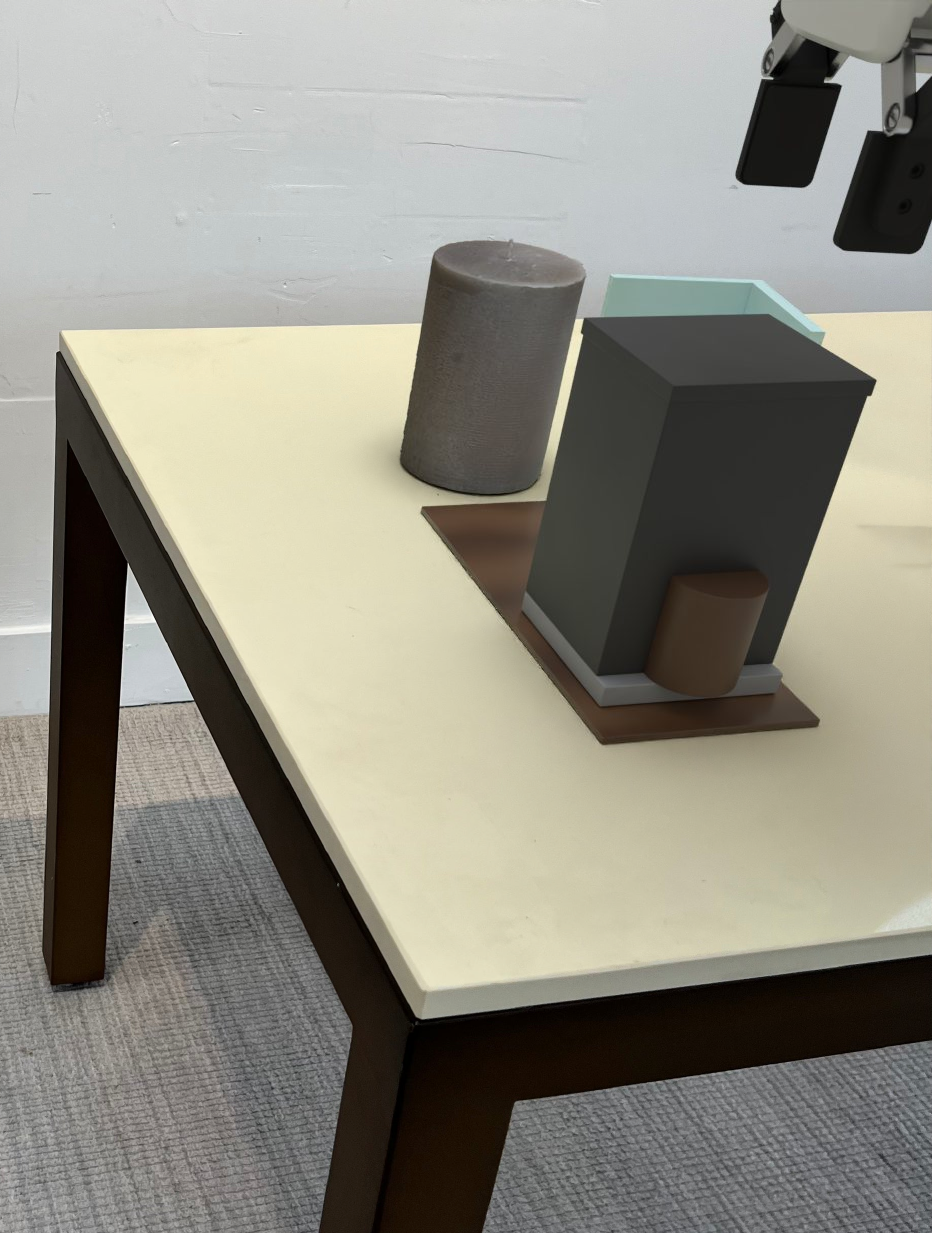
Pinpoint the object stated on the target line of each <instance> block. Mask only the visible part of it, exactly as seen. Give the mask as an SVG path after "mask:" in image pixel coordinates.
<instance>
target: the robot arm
mask: <svg viewBox="0 0 932 1233" xmlns="http://www.w3.org/2000/svg"><path fill="white" fill-rule="evenodd" d="M769 24H770V28H771V31H770V32H771V42H770V43H769V45H768V46H767V47H766V50H765V51H764V53H763V56H762V59H761V60H762V61H761V65H760V74H761V76H762V77H763V78H761V79H760V84H759V87H758V91H757V94H756V97H755V101H754V104H753V108H752V111H751V115H750V119H749V122H748V126H747V130H746V133H745V136H744V141H743V143H742V148H741V151H740V155H739V158H738V162H737V165H736V169H735V174H734V177H735V179H736V181H738V182H739V183H740V184H742V185H745V186H755V187H756V186H757V187H775V188H793V189H805V188H807V187H808V186H810V185H811V183H812V182H813V181H814V178H815V174H816V172H817V169H818V165H819V162H820V159H821V155H822V152H823V149H824V146H825V143H826V139H827V137H828V133H829V130H830V126H831V123H832V120H833V116H834V114H835V110H836V107H837V104H838V100H839V97H840V95H841V91H842V87H843V85H842V84H840V83H837V82H830V81H832V80H833V79H834V77H835V76H837V73H838V72H839V71H840V69H841V68H842V67H843V65H844V64H845V63H846V62H847V60H848V59H849V57H852V58H854V59H857V60H860V61H864V62H867V63H869V64H875V65H876V64H877V65H878V64H879V65H880V82H881V83H880V84H881V85H880V86H881V128H882V130H872V129H871V130H870V129H869V130H867V131H866V134H865V138H864V140H863V143H862V146H861V149H860V152H859V156H858V158H857V161H856V165H855V167H854V171H853V174H852V177H851V181H850V183H849V186H848V189H847V192H846V196H845V199H844V201H843V205H842V207H841V211H840V214H839V217H838V220H837V223H836V225H835V226H836V227H835V228H834V232H833V236H832V242H833V244H834V246H836V247H837V248H838V249H840V250H842V251H844V252H854V253H855V252H856V253H877V254H893V255H894V254H896V255H897V254H898V255H913V254H915V253H918V252H919V251H921V249H922V247H923V246H924V245H925V244H924V243H925V241H926V238H927V236H928V233H929V230H930V227H931V225H932V0H777V2H776V4H775V6H774V7H773V8H772V13H771V14H770V15H769ZM917 74H926V75H927V74H929V75H930V77H928V79H927V80H926V81H925V82H924V83H923V84H922V86H920V88H919V89H918V90H917Z"/></svg>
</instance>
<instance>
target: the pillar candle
mask: <svg viewBox="0 0 932 1233" xmlns="http://www.w3.org/2000/svg"><path fill="white" fill-rule="evenodd" d="M583 265H584V263H582V262H581V261H580V260H579V259H576V258H573V257H569V256H567V255H566V254H563V253H560V252H557V251H554V250H551V249H547V248H545V247H541V246H536V245H531V244H527V243H522V242H515V241H514V238H509V240H508V241H506V240H505V241H504V240H488V239H486V240H485V239H484V240H483V239H482V240H481V239H480V240H479V239H478V240H464V241H456V242H450V243H446V244H444V245H441V246H440V247H438V248H437V249H436V250H434V252H433V255H432V258H431V263H430V267H429V268H430V269H429V276H428V281H427V288H426V293H425V301H424V307H423V313H422V321H421V326H420V332H419V338H418V345H417V350H416V355H415V356H416V358H415V363H414V364H415V365H414V370H413V375H412V380H411V381H412V382H411V386H410V388H411V389H410V391H409V398H408V399H409V400H408V405H407V413H406V420H405V422H404V428H403V432H402V433H403V437H402V442H401V446H400V448H401V449H400V450H399V452H400V457H399V460H400V462H401V464H402V465H403V467H404V468H405V469H406V470H407V471H408V472H409V473H411V475H413V476H415V477H418V479H420V480H421V481H424V482H426V483H429V484H431V485H434V486H438V487H441V488H445V489H448V490H453V491H457V492H461V493H462V492H463V493H468V494H469V493H470V494H481V495H496V494H497V495H499V494H511V493H515V492H518V491H524V490H526V489H528V488H530V487H531V486H532V485H533V484H534V483H535V482H536V480H538V478H539V477H540V476H541V474H542V471H543V467H544V462H545V457H546V454H547V449H548V446H549V441H550V437H551V431H552V427H553V422H554V418H555V414H556V408H557V406H558V401H559V397H560V391H561V387H562V383H563V378H564V372H565V369H566V364H567V359H568V355H569V351H570V346H571V342H572V336H573V332H574V328H575V325H576V324H575V323H576V318H577V315H578V310H579V305H580V301H581V297H582V293H583V288H584V285H585V281H586V278H587V270H586V269H585V267H584V266H583Z"/></svg>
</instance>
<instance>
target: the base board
mask: <svg viewBox="0 0 932 1233" xmlns="http://www.w3.org/2000/svg"><path fill="white" fill-rule="evenodd" d="M545 502H546V500H532V501H531V500H529V501H528V500H527V501H526V500H525V501H506V502H487V503H485V502H483V503H465V504H463V503H462V504H444V505H441V504H440V505H422V506H421V508H420V513H421V514H422V515H423V517H424V518H425V519H426V520H427V522H428V523H429V524H430V526H431V527H432V528H433V529H434V531H435V532H436V533H437V535H438V536H439V538H441V540H442V541H443V542H444V544H446V546H447V547H448V549H449V550H450V551H451V553H452V554H453V555H454V556H455V558H456V559H457V560H458V561H459V563H460V564H461V565H462V568H464V569H465V571H466V572H467V573H468V574H469V576H470V577H471V579H473V581H474V582H475V584H476V585H477V586H478V587H479V589H480V590H481V591H482V592H483V593H484V595H485V596H486V598H487V599H488V600H489V601H490V603H491V604H492V605H493V607H495V609H496V610H497V612H498V613H499V614H500V615H501V617H502V618H503V620H504V621H505V622H506V623H507V624H508V626H509V627H510V628H511V630H512V631H513V632H514V634H515V635H516V636H517V637H518V639H519V640H520V641H521V642H522V644H523V645H524V646H525V647H526V649H527V650H528V652H529V653H530V654H531V655H532V657H533V658H534V659H535V660H536V662H537V663H538V664H539V666H540V667H541V668H542V670H543V671H544V672H545V673H546V675H547V676H548V677H549V679H550V680H551V681H552V682H553V684H554V685H555V686H556V687H557V689H558V690H559V691H560V692H561V694H562V696H564V698H565V699H566V700H567V702H568V703H569V704H570V705H571V707H572V708H573V709H574V710H575V712H576V713H577V715H579V717H580V718H581V719H582V721H583V722H584V723H585V725H586V726H587V727H588V728H589V730H590V731H591V732H592V734H593V735H594V736H595V737H596V739H597V740H598V741H599V742H600V744H601V745H606V744H617V743H629V742H641V741H643V742H644V741H654V740H666V739H676V738H677V739H678V738H689V737H701V736H713V735H725V734H726V735H727V734H736V733H737V734H738V733H749V732H751V733H752V732H763V731H776V730H786V729H797V728H799V729H800V728H809V727H810V728H811V727H819V725H820V723H821V719H820V717H818V716H817V715H816V713H814V712H813V711H812V710H811V709H810V708H809V706H808V705H806V704H805V703H804V702H803V701H802V700H801V699H800V698H799V697H798V696H797V695H796V694H795V693H794V692H793V691H792V690H791V689H790V688H789V687H788V686H787V685H786V684H785V683H784V682H783V681H782V680H781V681H780V684H779V687H778V690H777V692H776V693H770V694H757V695H745V696H732V697H719V698H706V699H693V700H680V701H667V702H654V703H641V704H628V705H615V706H602V707H600V706H599V705H598V704H597V702H596V701H595V700H594V699H593V698H592V696H591V695H590V694H589V693H588V691H587V690H586V689H585V688H584V686H583V685H582V684H581V683H580V681H579V680H578V679H577V678H576V676H575V675H574V674H573V673H572V671H571V670H570V669H569V668H568V667H567V665H566V664H565V663H564V662H563V660H562V659H561V658H560V657H559V655H558V654H557V653H556V652H555V650H554V649H553V648H552V647H551V645H550V644H549V643H548V642H547V640H546V639H545V638H544V637H543V636H542V634H541V633H540V632H539V631H538V629H537V628H536V627H535V626H534V624H533V623H532V622H531V621H530V619H529V618H528V617H527V616H526V614H525V613H524V612H523V611H522V609H521V608H522V604H523V599H524V595H525V591H526V587H527V582H528V578H529V573H530V569H531V564H532V560H533V555H534V551H535V547H536V542H537V538H538V533H539V529H540V524H541V520H542V516H543V511H544V507H545Z"/></svg>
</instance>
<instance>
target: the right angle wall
mask: <svg viewBox="0 0 932 1233" xmlns="http://www.w3.org/2000/svg"><path fill="white" fill-rule="evenodd" d="M603 299H604V300H603V304H602V308H601V312H600V316H599V317H638V316H687V315H737V314H770V315H771V316H773V317H775V318H776V319H778V320H780V321H781V322H783V323H784V324H786V325H788V326H789V327H791V328H793V329H794V330H796V331H798V332H799V333H801V334H802V335H804V336H806V337H807V338H809V339H811V340H812V341H814V342H816V343H817V344H819V345H820V346H822V345H823V342H824V339H825V336H826V330H824V329H823V328H822V327H820V326H819V325H818V324H817V323H815V321H813V320H812V319H810V318H809V317H808V316H807V315H806V314H805V313H803V312H802V311H801V310H800V309H799V308H797V307H796V306H795V305H793V303H791V302H789V301H788V300H787V299H786V298H784V297H783V296H782V295H781V294H780V293H778V292H777V291H776V290H775V289H774V288H773V287H771V286H770V285H769V284H767V283H766V282H765V281H764V280H762V279H749V278H748V279H747V278H745V279H744V278H721V277H697V276H673V275H671V276H668V275H647V274H645V275H643V274H625V273H622V274H620V273H610V274H609V277H608V282H607V286H606V291H605V294H604V298H603Z"/></svg>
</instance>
